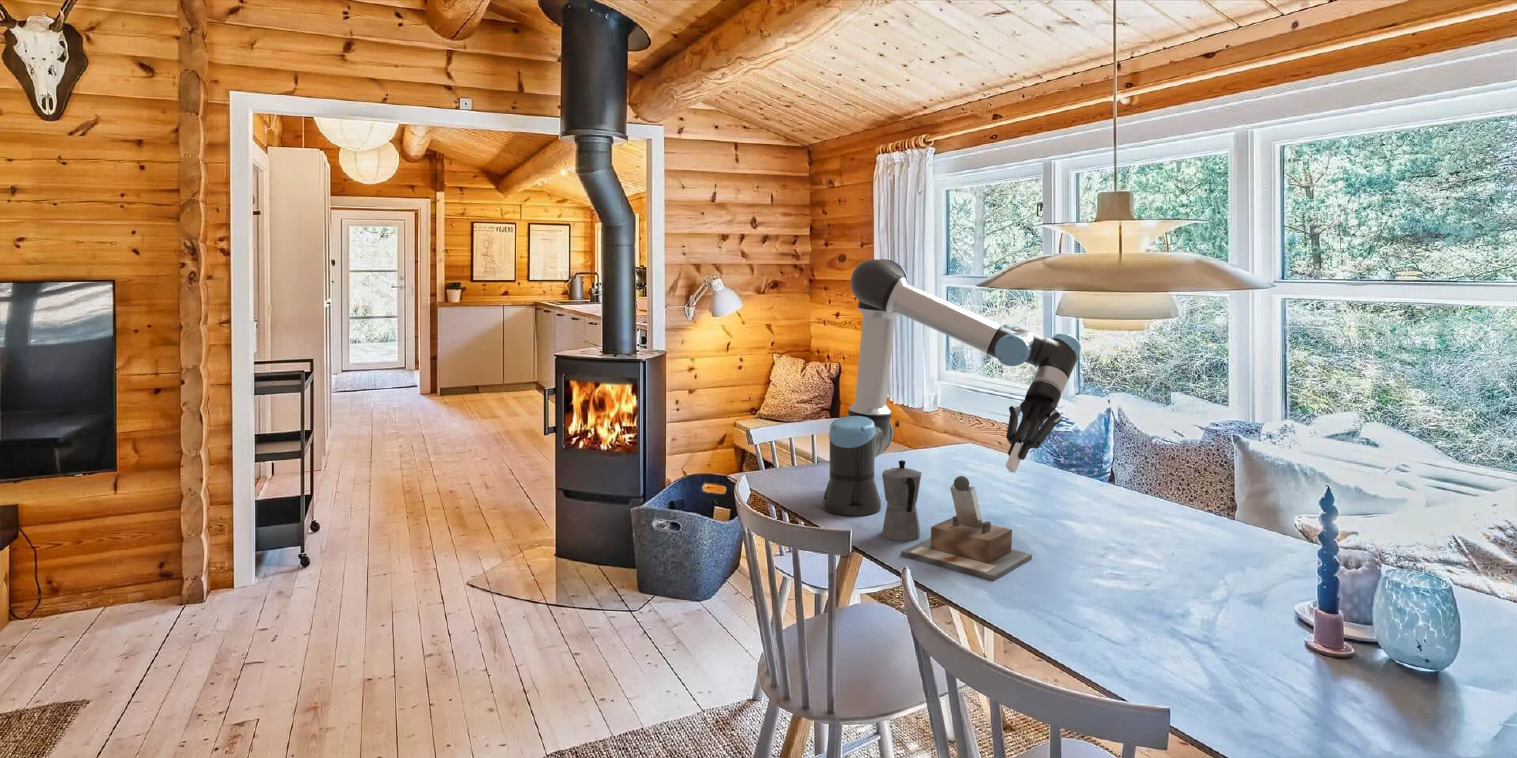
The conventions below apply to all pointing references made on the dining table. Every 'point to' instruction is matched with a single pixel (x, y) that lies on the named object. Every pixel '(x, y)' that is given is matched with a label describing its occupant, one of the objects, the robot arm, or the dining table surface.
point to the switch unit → (969, 549)
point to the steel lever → (966, 503)
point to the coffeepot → (901, 503)
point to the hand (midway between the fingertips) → (1010, 468)
